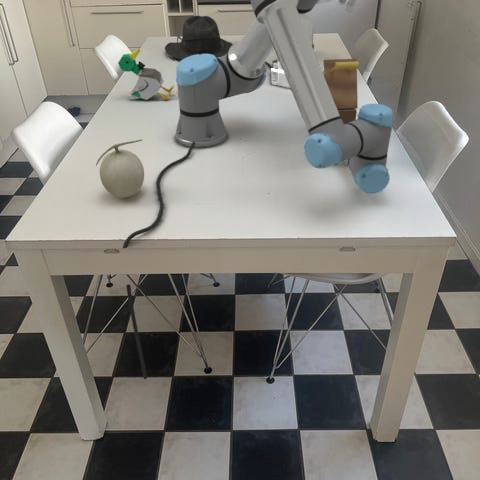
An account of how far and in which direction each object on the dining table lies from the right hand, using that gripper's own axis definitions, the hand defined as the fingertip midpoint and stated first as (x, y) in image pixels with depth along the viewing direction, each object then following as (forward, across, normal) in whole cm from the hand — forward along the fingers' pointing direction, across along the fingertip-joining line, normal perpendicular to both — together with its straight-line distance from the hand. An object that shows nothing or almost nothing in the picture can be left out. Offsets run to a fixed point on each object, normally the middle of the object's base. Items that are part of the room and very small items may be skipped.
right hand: (345, 7), depth 136 cm
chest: (+36, +1, 0) cm, 36 cm away
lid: (+20, -2, 0) cm, 20 cm away
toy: (+36, +36, +60) cm, 78 cm away
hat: (+35, +96, +42) cm, 111 cm away
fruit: (+36, -33, +59) cm, 77 cm away
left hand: (+29, -7, 0) cm, 30 cm away
